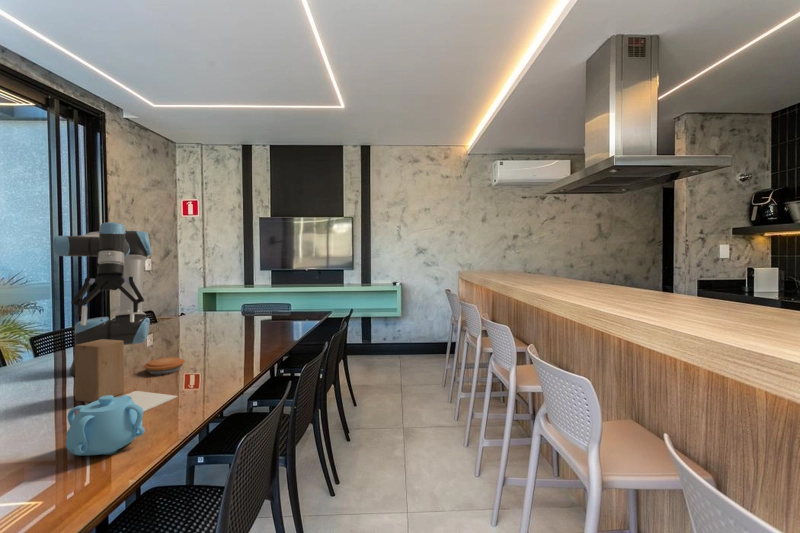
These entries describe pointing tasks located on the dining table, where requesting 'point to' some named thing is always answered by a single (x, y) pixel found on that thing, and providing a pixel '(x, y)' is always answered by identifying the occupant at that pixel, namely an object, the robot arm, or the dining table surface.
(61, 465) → the dining table surface
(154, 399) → the mat
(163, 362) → the pie
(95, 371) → the wooden block
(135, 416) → the decorative pot
